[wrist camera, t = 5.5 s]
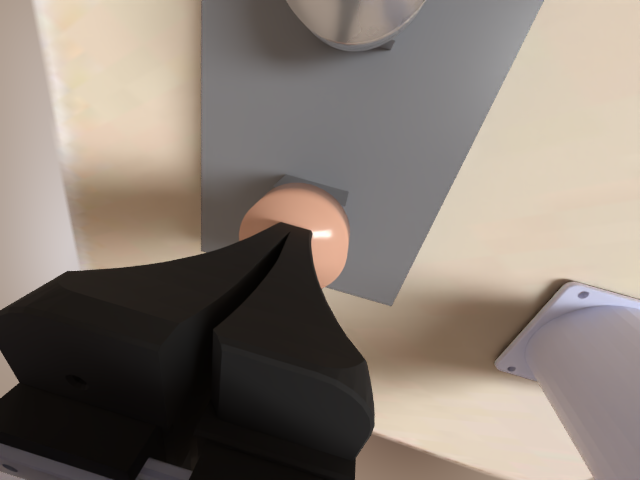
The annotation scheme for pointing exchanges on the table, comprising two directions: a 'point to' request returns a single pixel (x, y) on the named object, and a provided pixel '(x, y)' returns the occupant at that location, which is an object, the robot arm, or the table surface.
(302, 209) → the peach knob
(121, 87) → the table surface
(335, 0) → the steel plunger
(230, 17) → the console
